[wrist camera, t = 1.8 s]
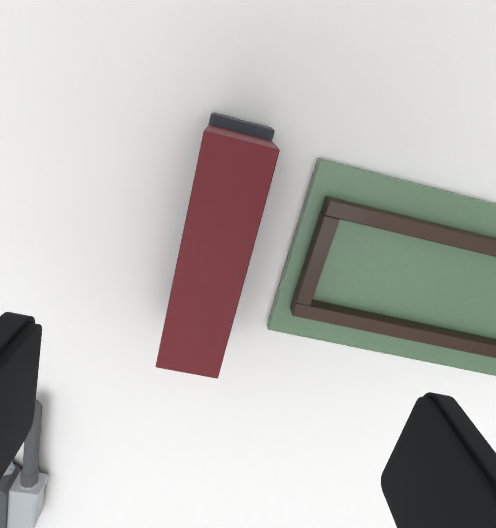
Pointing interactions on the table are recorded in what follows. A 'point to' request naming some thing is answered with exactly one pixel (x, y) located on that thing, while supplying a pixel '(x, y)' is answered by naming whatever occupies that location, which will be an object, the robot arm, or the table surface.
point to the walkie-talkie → (24, 483)
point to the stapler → (217, 243)
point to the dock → (392, 270)
